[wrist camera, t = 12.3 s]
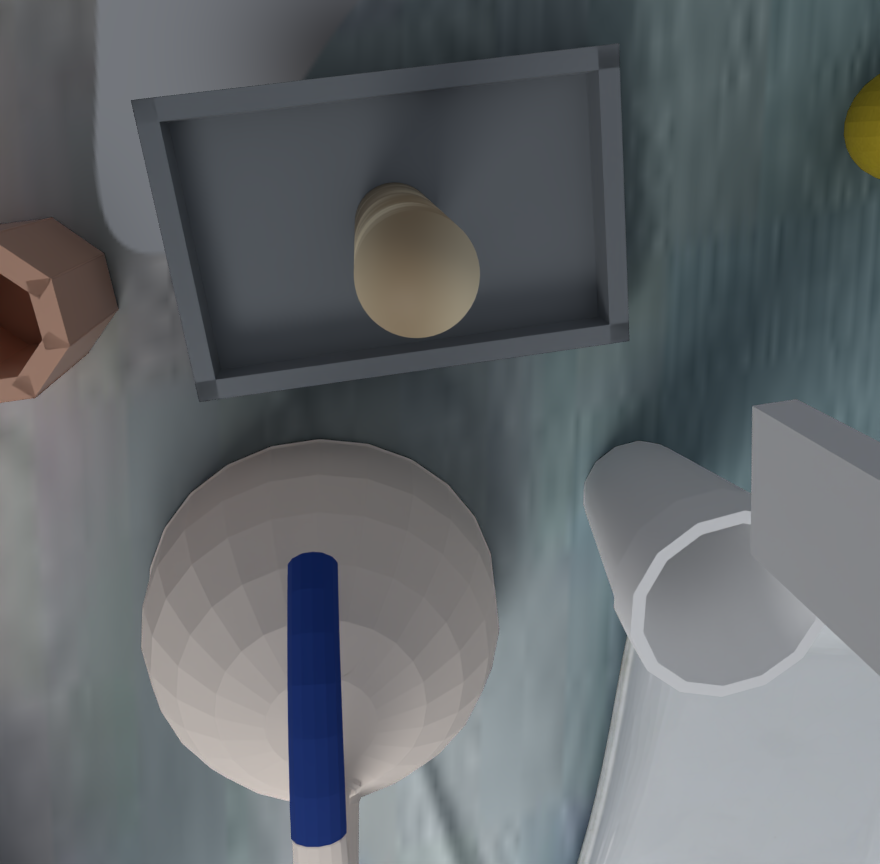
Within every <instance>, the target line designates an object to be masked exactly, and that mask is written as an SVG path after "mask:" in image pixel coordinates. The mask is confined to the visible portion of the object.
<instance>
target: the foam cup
mask: <svg viewBox="0 0 880 864" xmlns="http://www.w3.org/2000/svg"><path fill="white" fill-rule="evenodd" d="M583 505H584V507H585V512H586V515H587V518H588V521H589V524H590V527H591V530H592V532H593V535H594V538H595V541H596V544H597V547H598V550H599V553H600V556H601V559H602V562H603V565H604V568H605V571H606V573H607V576H608V579H609V582H610V585H611V588H612V591H613V594H614V609H615V611H616V613H617V615H618V617H619V619H620V621H621V624H622V626H623V628H624V630H625V632H626V634H627V636H628V638H629V640H630V642H631V644H632V645H633V647H634V649H635V650H636V652H637V654H638V656H639V657H640V659H641V661H642V663H643V664H644V666H645V668H646V669H647V671H649V672H650V673H652V674H653V675H655V676H656V677H658V678H659V679H661V680H662V681H664V682H665V683H667V684H668V685H670V686H671V687H673V688H675V689H676V690H678V691H679V692H684V693H693V694H702V695H710V696H719V697H723V696H727V695H730V694H734V693H737V692H741V691H745V690H748V689H752V688H756V687H759V686H763V685H766V684H767V683H769V682H770V681H771V680H773V679H774V678H776V677H777V676H778V675H780V674H781V673H783V672H784V671H785V670H787V669H788V668H790V667H791V666H792V665H794V664H795V663H797V662H798V661H799V660H801V659H802V658H803V657H804V656H805V654H806V653H807V651H808V650H809V648H810V647H811V645H812V644H813V642H814V641H815V639H816V638H817V636H818V635H819V633H820V632H821V630H822V629H823V627H824V626H825V624H824V623H823V622H822V621H821V620H820V619H819V618H817V617H816V616H815V615H814V614H813V613H812V612H811V611H810V610H809V609H808V608H807V607H806V606H805V605H804V604H803V603H802V602H800V601H799V600H798V599H797V598H796V597H795V596H794V595H793V594H792V593H791V592H790V591H789V590H788V589H787V588H786V587H785V586H783V585H782V584H781V583H780V582H779V581H778V580H777V579H776V578H775V577H774V576H773V575H772V574H771V573H770V572H769V571H768V570H766V569H765V568H764V567H763V566H762V565H761V564H760V563H759V562H758V561H757V560H756V559H755V558H754V557H753V556H752V555H751V554H750V553H751V493H749V492H747V491H745V490H743V489H742V488H740V487H738V486H736V485H734V484H733V483H731V482H729V481H727V480H725V479H724V478H722V477H720V476H718V475H716V474H714V473H713V472H711V471H709V470H707V469H705V468H704V467H702V466H700V465H698V464H696V463H694V462H693V461H691V460H689V459H687V458H685V457H684V456H682V455H680V454H678V453H676V452H675V451H673V450H671V449H669V448H667V447H664V446H663V445H661V444H656V443H650V442H644V441H635V442H631V443H627V444H624V445H620V446H616V447H614V448H613V449H612V450H610V451H609V452H608V453H607V454H605V455H604V456H603V457H601V458H600V459H599V460H598V461H596V462H595V464H594V466H593V468H592V470H591V472H590V473H589V475H588V477H587V479H586V481H585V483H584V501H583Z"/></svg>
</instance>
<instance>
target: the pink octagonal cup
mask: <svg viewBox="0 0 880 864" xmlns="http://www.w3.org/2000/svg"><path fill="white" fill-rule="evenodd" d="M118 309H119V308H118V306H117V302H116V298H115V294H114V290H113V286H112V282H111V278H110V275H109V271H108V267H107V263H106V259H105V254H104V253H103V252H101V251H100V250H98V249H97V248H96V247H94V246H93V245H91V244H90V243H88V242H87V241H85V240H84V239H82V238H81V237H80V236H78V235H77V234H75V233H74V232H72V231H71V230H69V229H68V228H67V227H65V226H64V225H62V224H61V223H59V222H58V221H56V220H55V219H54V218H52V217H50V218H45V219H37V220H29V221H22V222H14V223H6V224H0V403H2V402H9V401H16V400H24V399H31V398H36V397H37V396H38V395H39V394H41V393H42V392H43V391H44V390H45V389H47V388H48V387H49V386H50V385H51V384H53V383H54V382H55V381H56V380H57V379H58V378H60V377H61V376H62V375H63V374H64V373H66V372H67V371H68V370H69V369H70V368H71V367H73V366H74V365H75V364H76V363H77V362H79V361H80V360H81V359H82V358H83V357H85V356H86V355H87V354H88V353H89V351H90V350H91V348H92V347H93V345H94V344H95V342H96V341H97V340H98V338H99V337H100V335H101V334H102V332H103V331H104V329H105V328H106V326H107V325H108V323H109V322H110V321H111V319H112V318H113V316H114V315H115V313H116V312H117V311H118Z"/></svg>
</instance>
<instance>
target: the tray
mask: <svg viewBox="0 0 880 864" xmlns="http://www.w3.org/2000/svg"><path fill="white" fill-rule="evenodd" d="M131 103H132V107H133V112H134V116H135V120H136V125H137V129H138V134H139V138H140V143H141V146H142V151H143V155H144V160H145V164H146V169H147V173H148V178H149V182H150V187H151V191H152V195H153V200H154V204H155V208H156V213H157V217H158V222H159V226H160V230H161V235H162V240H163V244H164V248H165V253H166V257H167V262H168V266H169V270H170V275H171V279H172V284H173V288H174V292H175V297H176V301H177V306H178V310H179V315H180V319H181V323H182V328H183V332H184V337H185V341H186V345H187V350H188V354H189V359H190V363H191V367H192V372H193V376H194V381H195V385H196V389H197V394H198V398H199V402H202V401H209V400H216V399H223V398H230V397H238V396H245V395H252V394H259V393H266V392H273V391H280V390H287V389H294V388H301V387H308V386H315V385H322V384H329V383H336V382H343V381H350V380H358V379H365V378H372V377H379V376H386V375H393V374H400V373H407V372H414V371H421V370H428V369H435V368H442V367H449V366H456V365H463V364H470V363H478V362H485V361H492V360H499V359H506V358H513V357H520V356H527V355H534V354H541V353H548V352H555V351H562V350H569V349H576V348H583V347H590V346H598V345H605V344H612V343H619V342H626V341H629V313H628V285H627V256H626V228H625V199H624V171H623V142H622V114H621V85H620V57H619V43H618V44H609V45H601V46H592V47H583V48H575V49H566V50H558V51H549V52H540V53H532V54H523V55H515V56H506V57H497V58H489V59H480V60H472V61H463V62H454V63H446V64H437V65H429V66H420V67H411V68H403V69H394V70H386V71H377V72H369V73H360V74H351V75H343V76H334V77H326V78H317V79H308V80H300V81H291V82H283V83H274V84H265V85H258V86H248V87H240V88H231V89H222V90H214V91H205V92H197V93H188V94H180V95H171V96H162V97H154V98H146V99H137V100H131ZM393 182H396V183H403V184H407V185H410V186H412V187H414V188H416V189H417V190H418V191H420V192H421V193H422V194H423V195H424V196H425V197H426V198H428V199H429V200H430V201H431V202H432V203H433V204H434V205H435V206H436V207H437V208H439V209H440V210H441V211H442V212H443V213H444V214H445V215H446V216H447V217H449V218H450V219H451V220H452V221H453V222H454V223H455V224H456V225H457V226H458V227H460V228H461V229H462V230H463V231H464V233H465V234H466V235H467V236H468V238H469V239H470V241H471V242H472V244H473V246H474V248H475V251H476V253H477V257H478V260H479V266H480V281H479V288H478V292H477V295H476V298H475V300H474V302H473V304H472V306H471V308H470V309H469V311H468V312H467V313H466V315H465V316H464V317H463V318H462V319H461V320H460V321H459V322H458V323H457V324H455V325H454V326H453V327H451V328H450V329H448V330H446V331H444V332H442V333H440V334H437V335H434V336H430V337H425V338H408V337H403V336H399V335H396V334H393V333H391V332H389V331H387V330H385V329H383V328H382V327H380V326H379V325H378V324H377V323H375V322H374V321H373V320H372V319H371V318H370V317H369V315H368V314H367V313H366V311H365V310H364V309H363V307H362V305H361V303H360V301H359V299H358V296H357V293H356V289H355V284H354V236H355V216H356V211H357V208H358V206H359V204H360V202H361V201H362V199H363V198H364V196H365V195H366V194H367V193H368V192H369V191H371V190H372V189H374V188H375V187H377V186H379V185H382V184H385V183H393Z"/></svg>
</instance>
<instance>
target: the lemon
mask: <svg viewBox="0 0 880 864" xmlns="http://www.w3.org/2000/svg"><path fill="white" fill-rule="evenodd" d="M844 138H845V144H846V148H847V150H848V152H849V154H850V156H851V158H852V159H853V161H854V162H855V163H856V164H857V165H858V166H859V167H860V168H861V169H862V170H863V171H865V172H867V173H868V174H870V175H872V176H873V177H875V178H878V179H880V74H879V75H877V76H876V77H875V78H873V79H872V80H871V81H870V82H868V83H867V84H866V85H865V86H864V87H863V88H862V89H861V91H860V92H859V93H858V94H857V95H856V97H855V98H854V100H853V102H852V104H851V106H850V108H849V110H848V112H847V116H846V120H845V125H844Z"/></svg>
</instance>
